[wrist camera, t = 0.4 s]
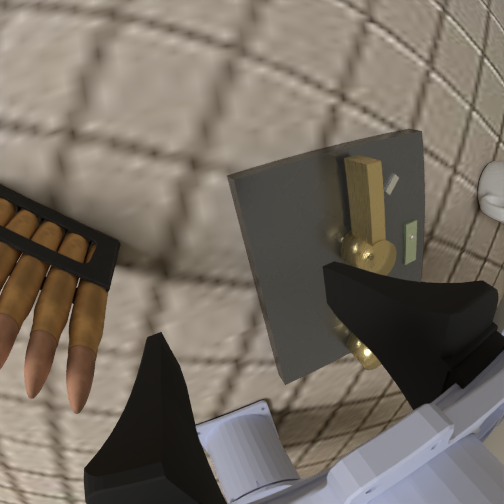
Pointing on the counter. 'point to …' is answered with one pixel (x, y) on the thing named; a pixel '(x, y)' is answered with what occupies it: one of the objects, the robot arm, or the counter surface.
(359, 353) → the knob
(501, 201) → the cup
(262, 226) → the base plate
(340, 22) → the counter surface
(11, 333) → the ammunition clip
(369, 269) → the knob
